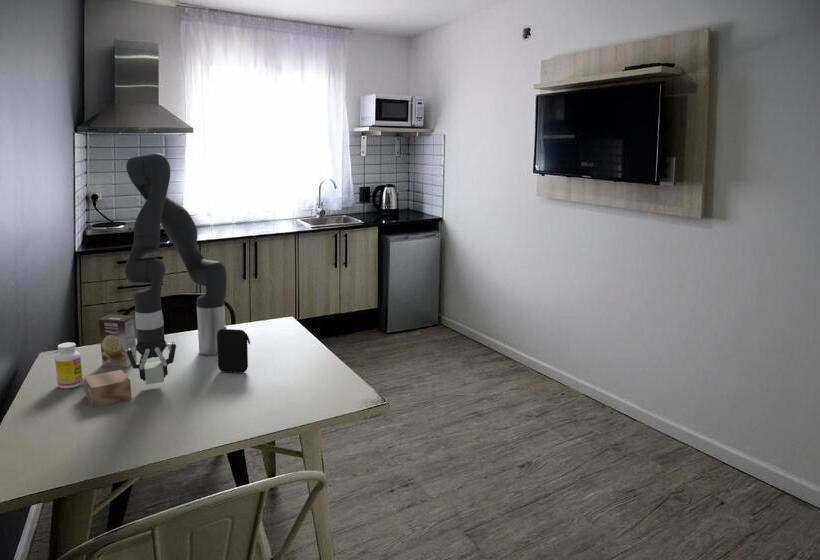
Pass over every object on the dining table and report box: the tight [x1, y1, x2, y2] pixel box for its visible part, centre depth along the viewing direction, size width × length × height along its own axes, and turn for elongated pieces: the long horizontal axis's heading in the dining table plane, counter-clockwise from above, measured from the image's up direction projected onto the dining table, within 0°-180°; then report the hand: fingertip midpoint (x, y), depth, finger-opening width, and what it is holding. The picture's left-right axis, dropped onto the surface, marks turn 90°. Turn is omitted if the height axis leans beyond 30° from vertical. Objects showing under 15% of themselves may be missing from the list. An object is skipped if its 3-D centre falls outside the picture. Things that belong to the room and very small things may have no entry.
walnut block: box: [83, 369, 133, 408], centre depth 170 cm, size 10×10×6 cm
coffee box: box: [98, 313, 138, 368], centre depth 195 cm, size 9×6×16 cm
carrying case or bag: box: [217, 328, 251, 373], centre depth 190 cm, size 11×3×15 cm, turn 89°
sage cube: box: [144, 360, 165, 386], centre depth 177 cm, size 5×5×5 cm
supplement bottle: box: [54, 341, 84, 389], centre depth 176 cm, size 7×7×13 cm
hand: (154, 378), depth 177 cm, fingers closed on sage cube, 5 cm apart
